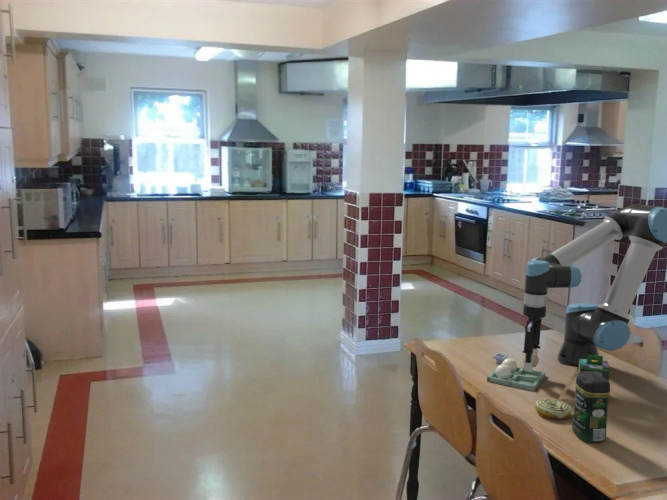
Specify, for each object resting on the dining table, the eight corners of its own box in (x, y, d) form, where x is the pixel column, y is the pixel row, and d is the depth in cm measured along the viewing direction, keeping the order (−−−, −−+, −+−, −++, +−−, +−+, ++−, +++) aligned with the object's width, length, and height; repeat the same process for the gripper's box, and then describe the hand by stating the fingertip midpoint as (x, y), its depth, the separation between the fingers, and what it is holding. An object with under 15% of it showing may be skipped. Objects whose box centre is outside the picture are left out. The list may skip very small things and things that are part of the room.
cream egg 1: (518, 372, 225) (519, 358, 224) (514, 376, 220) (515, 362, 219) (503, 369, 227) (504, 355, 226) (499, 373, 223) (500, 359, 222)
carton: (545, 378, 221) (545, 372, 221) (534, 393, 208) (534, 386, 207) (500, 369, 230) (500, 363, 229) (486, 383, 216) (487, 377, 216)
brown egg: (524, 363, 223) (525, 349, 222) (539, 366, 220) (541, 351, 219) (520, 367, 218) (521, 353, 217) (536, 370, 215) (537, 356, 215)
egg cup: (507, 363, 236) (507, 354, 236) (503, 366, 233) (504, 358, 232) (496, 361, 238) (496, 352, 238) (492, 364, 235) (493, 355, 234)
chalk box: (605, 393, 209) (609, 351, 206) (607, 404, 200) (611, 360, 198) (576, 389, 212) (579, 348, 209) (577, 400, 203) (580, 356, 201)
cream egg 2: (512, 378, 218) (513, 364, 217) (508, 383, 214) (509, 368, 213) (497, 375, 221) (498, 361, 220) (492, 380, 216) (493, 365, 215)
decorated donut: (566, 425, 185) (567, 413, 184) (530, 415, 191) (531, 404, 190) (574, 413, 194) (575, 401, 193) (540, 404, 200) (541, 393, 199)
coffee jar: (567, 428, 182) (572, 368, 179) (593, 428, 183) (598, 368, 180) (582, 444, 173) (587, 381, 170) (610, 443, 173) (615, 380, 170)
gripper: (539, 312, 206) (534, 378, 210) (551, 301, 221) (547, 363, 225) (517, 308, 210) (512, 374, 213) (530, 298, 225) (526, 359, 229)
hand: (530, 368), depth 219 cm, fingers closed on brown egg, 5 cm apart
